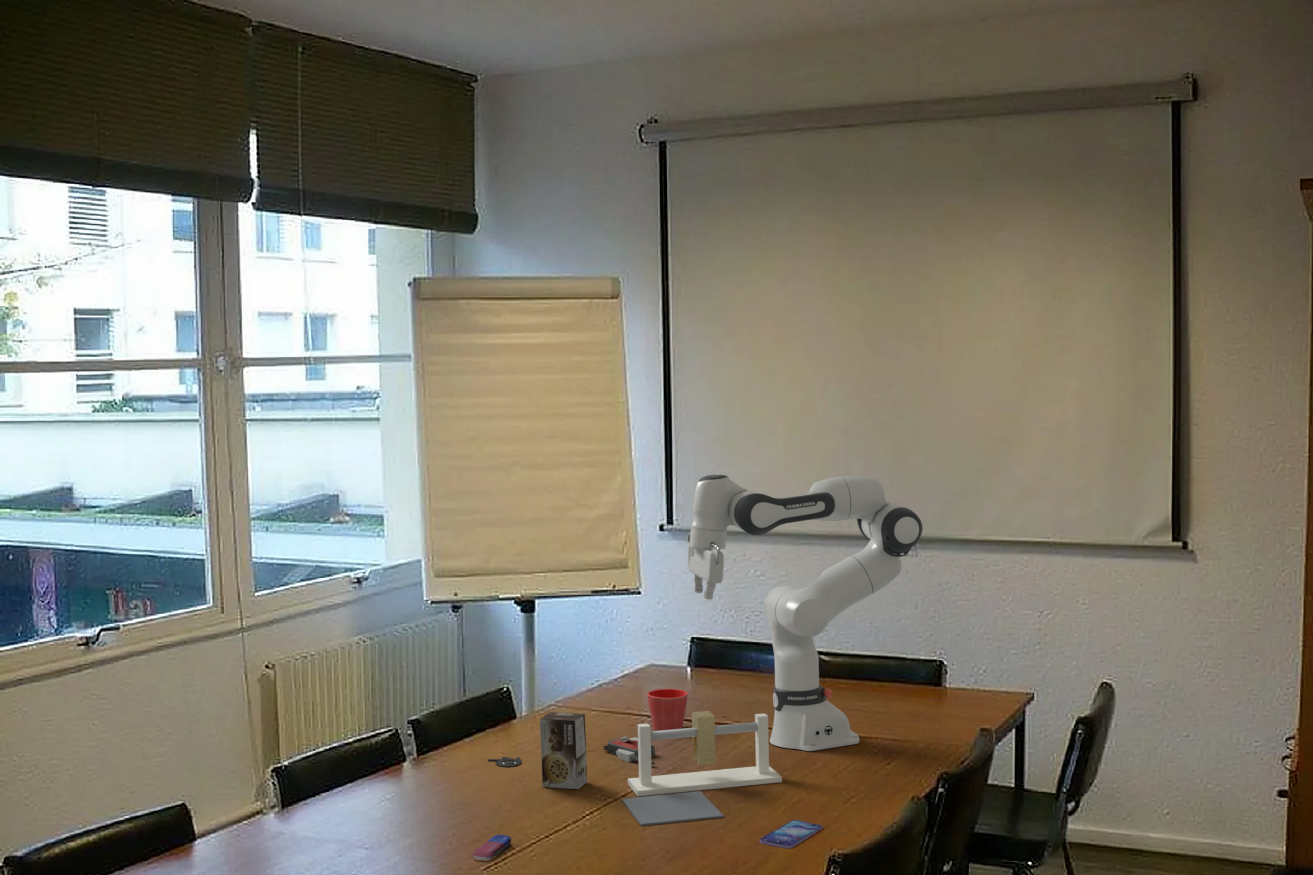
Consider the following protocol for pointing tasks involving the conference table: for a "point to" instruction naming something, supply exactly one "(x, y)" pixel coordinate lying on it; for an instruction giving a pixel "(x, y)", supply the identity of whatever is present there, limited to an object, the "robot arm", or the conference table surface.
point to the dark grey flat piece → (507, 762)
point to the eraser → (492, 847)
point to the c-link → (704, 737)
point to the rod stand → (703, 779)
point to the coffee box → (563, 750)
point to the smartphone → (790, 834)
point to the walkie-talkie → (626, 749)
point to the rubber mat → (671, 808)
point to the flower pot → (667, 708)
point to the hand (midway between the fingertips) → (703, 595)
